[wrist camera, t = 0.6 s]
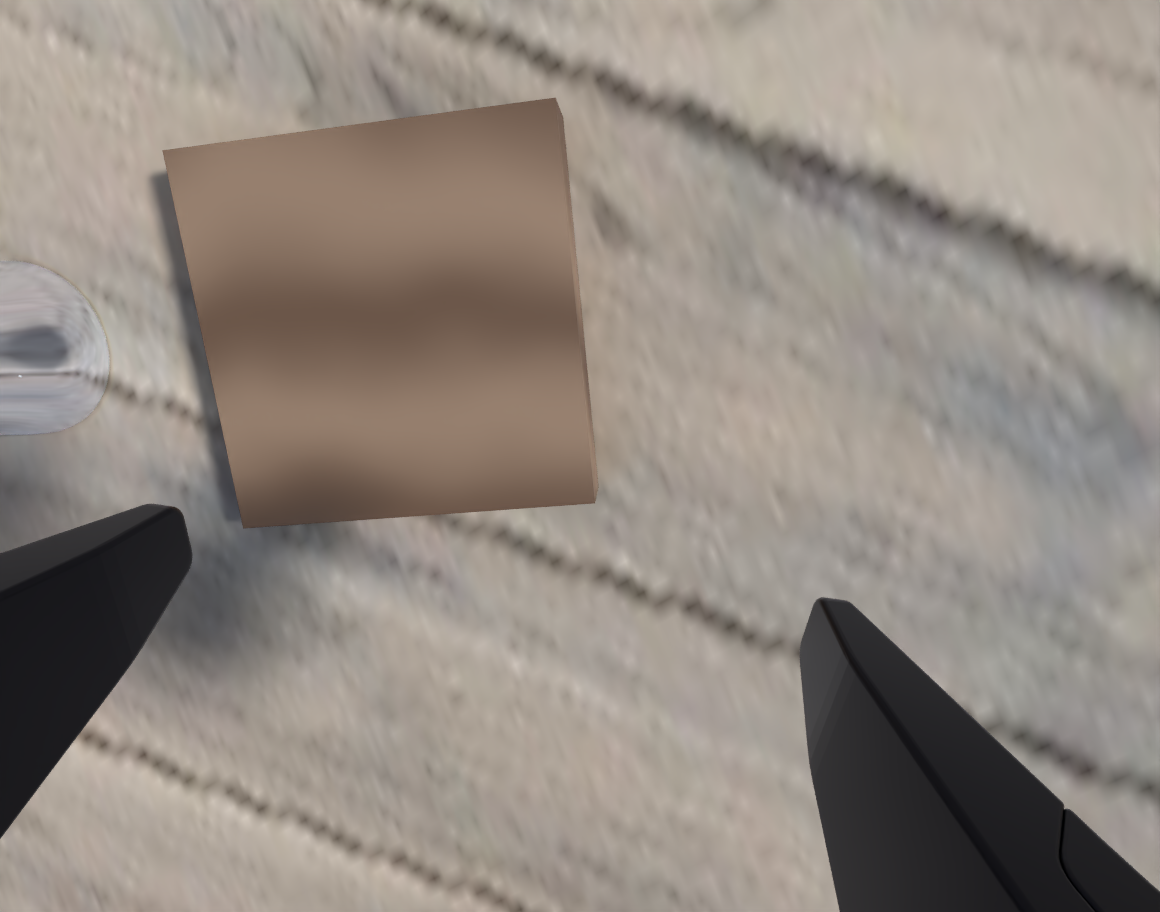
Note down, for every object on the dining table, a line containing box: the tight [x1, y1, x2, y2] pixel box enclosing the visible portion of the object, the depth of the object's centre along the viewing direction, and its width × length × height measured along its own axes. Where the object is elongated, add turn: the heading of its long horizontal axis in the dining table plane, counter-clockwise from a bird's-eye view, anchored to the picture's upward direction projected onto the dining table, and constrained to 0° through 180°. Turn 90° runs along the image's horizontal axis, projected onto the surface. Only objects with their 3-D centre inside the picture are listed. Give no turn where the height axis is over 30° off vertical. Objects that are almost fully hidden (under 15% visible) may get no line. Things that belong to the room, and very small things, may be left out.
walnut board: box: [163, 98, 598, 528], centre depth 22 cm, size 12×12×2 cm
